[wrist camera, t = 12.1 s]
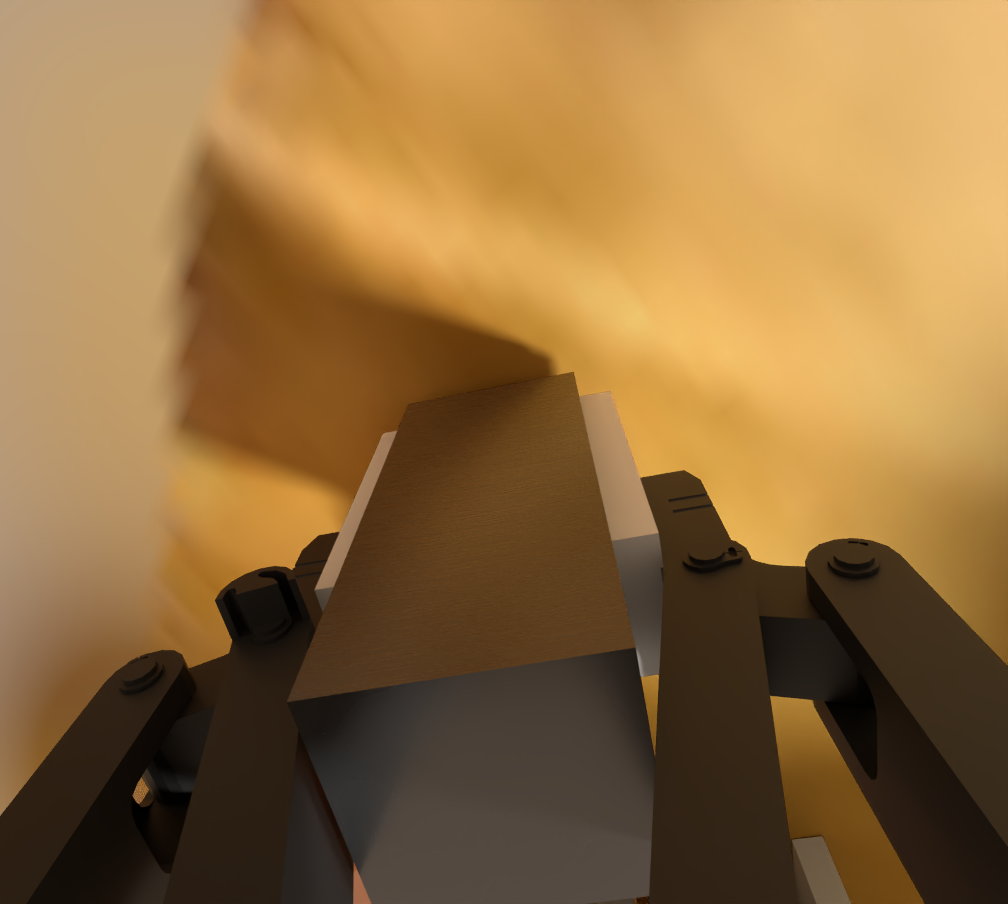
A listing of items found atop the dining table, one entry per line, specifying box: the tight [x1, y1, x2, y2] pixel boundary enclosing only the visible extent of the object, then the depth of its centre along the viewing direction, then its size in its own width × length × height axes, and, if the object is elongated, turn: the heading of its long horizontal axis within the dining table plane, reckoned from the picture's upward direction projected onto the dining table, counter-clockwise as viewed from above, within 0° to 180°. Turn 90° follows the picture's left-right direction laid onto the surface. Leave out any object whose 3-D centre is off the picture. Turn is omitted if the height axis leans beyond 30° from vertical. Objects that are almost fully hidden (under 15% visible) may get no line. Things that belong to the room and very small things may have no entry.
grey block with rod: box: [287, 372, 655, 904], centre depth 16 cm, size 8×17×10 cm, turn 12°
